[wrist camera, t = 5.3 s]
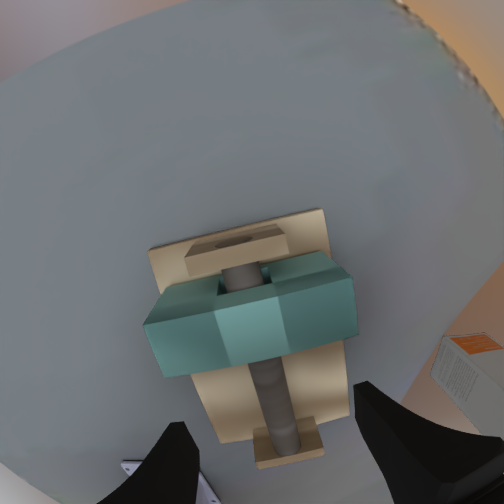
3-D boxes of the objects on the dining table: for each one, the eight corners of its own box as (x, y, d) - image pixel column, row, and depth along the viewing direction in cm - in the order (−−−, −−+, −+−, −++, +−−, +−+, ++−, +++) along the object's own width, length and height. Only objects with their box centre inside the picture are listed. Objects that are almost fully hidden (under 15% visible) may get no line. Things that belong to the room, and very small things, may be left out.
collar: (329, 296, 19) (358, 334, 14) (180, 330, 19) (164, 378, 14) (321, 250, 18) (352, 277, 13) (166, 287, 18) (142, 325, 13)
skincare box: (484, 329, 22) (566, 391, 11) (470, 368, 23) (540, 435, 12) (441, 334, 22) (530, 412, 10) (426, 375, 23) (498, 460, 11)
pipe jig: (346, 409, 23) (363, 445, 18) (221, 437, 23) (219, 477, 19) (319, 208, 19) (343, 216, 15) (150, 248, 19) (127, 268, 15)
